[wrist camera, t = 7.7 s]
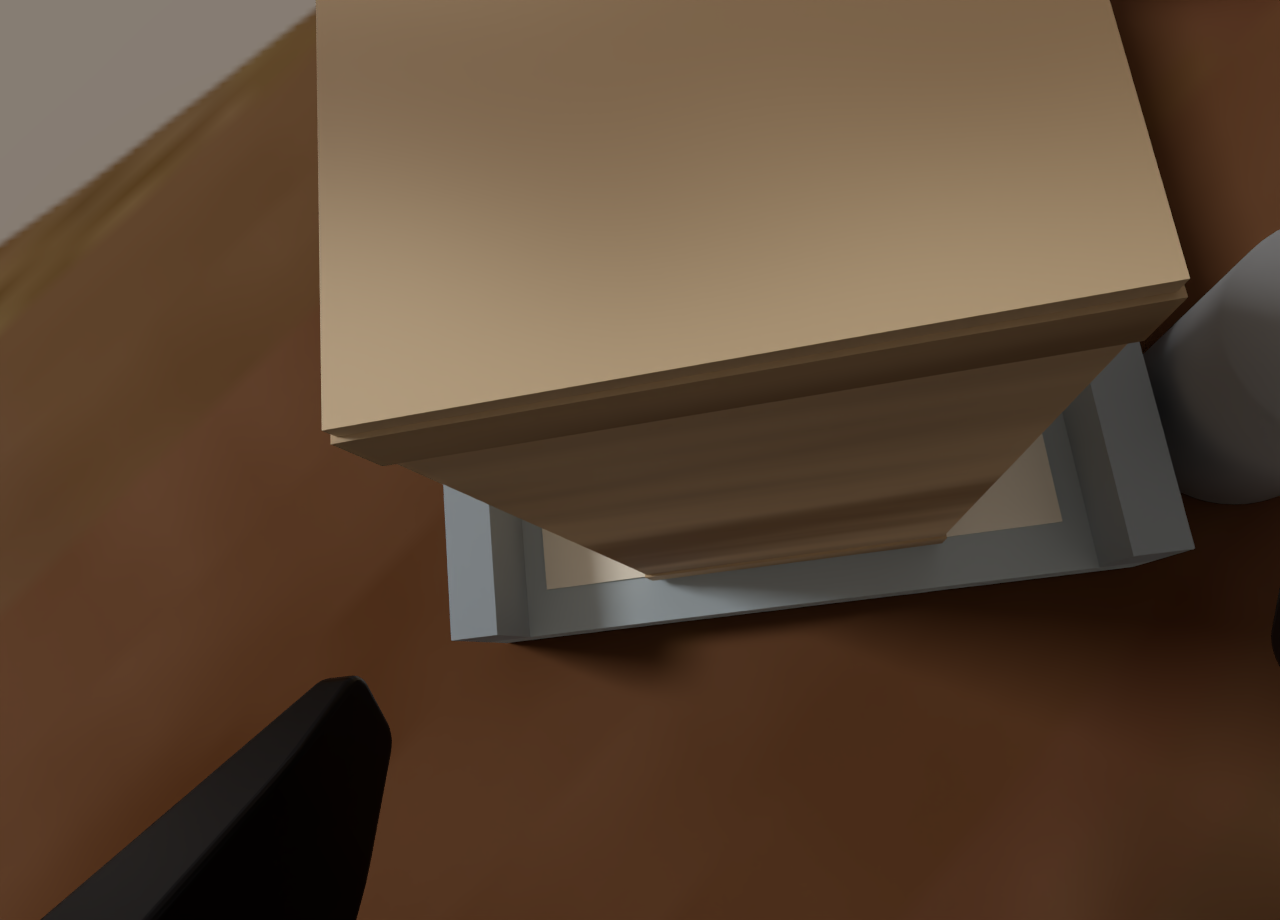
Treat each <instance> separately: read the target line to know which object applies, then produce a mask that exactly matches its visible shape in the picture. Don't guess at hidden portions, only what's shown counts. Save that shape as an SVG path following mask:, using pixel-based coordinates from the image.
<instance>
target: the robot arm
mask: <svg viewBox="0 0 1280 920" xmlns="http://www.w3.org/2000/svg"><path fill="white" fill-rule="evenodd" d="M1271 639H1272V647H1273V651H1274V654H1275V657H1276V660H1277V662H1278V664H1279V666H1280V589H1279V595H1278V600H1277V606H1276V611H1275V616H1274V622H1273V627H1272V635H1271ZM391 747H392V738H391V732H390V728H389V725H388V723H387V721H386V719H385V718H384V716H383V714H382V712H381V710H380V708H379V706H378V704H377V702H376V701H375V699H374V697H373V695H372V693H371V691H370V689H369V687H368V686H367V684H366V682H365V681H364V680H363V679H361V678H360V677H358V676H345V677H336V678H328V679H325V680H322V681H320V682H319V683H317V684H316V685H315V686H314V687H312V688H311V689H310V690H309V691H308V692H307V693H305V694H304V695H303V696H302V697H301V698H300V699H298V700H297V701H296V702H295V703H294V704H293V705H291V706H290V707H289V708H288V709H287V710H285V711H284V712H283V713H282V714H281V715H280V716H278V717H277V718H276V719H275V720H274V721H273V722H271V723H270V724H269V725H268V726H267V727H266V728H264V729H263V730H262V731H261V732H260V733H259V734H257V735H256V736H255V737H254V738H253V739H251V740H250V741H249V742H248V743H247V744H246V745H244V746H243V747H242V748H241V749H240V750H239V751H237V752H236V753H235V754H234V755H233V756H232V757H230V758H229V759H228V760H227V761H226V762H225V763H223V764H222V765H221V766H220V767H219V768H218V769H216V770H215V771H214V772H213V773H212V774H210V775H209V776H208V777H207V778H206V779H205V780H203V781H202V782H201V783H200V784H199V785H198V786H196V787H195V788H194V789H193V790H192V791H191V792H189V793H188V794H187V795H186V796H185V797H184V798H182V799H181V800H180V801H179V802H178V803H177V804H175V805H174V806H173V807H172V808H171V809H169V810H168V811H167V812H166V813H165V814H164V815H162V816H161V817H160V818H159V819H158V820H157V821H155V822H154V823H153V824H152V825H151V826H150V827H148V828H147V829H146V830H145V831H144V832H143V833H141V834H140V835H139V836H138V837H137V838H136V839H134V840H133V841H132V842H131V843H130V844H128V845H127V846H126V847H125V848H124V849H123V850H121V851H120V852H119V853H118V854H117V855H116V856H114V857H113V858H112V859H111V860H110V861H109V862H107V863H106V864H105V865H104V866H103V867H102V868H100V869H99V870H98V871H97V872H96V873H95V874H93V875H92V876H91V877H90V878H89V879H87V880H86V881H85V882H84V883H83V884H82V885H80V886H79V887H78V888H77V889H76V890H75V891H73V892H72V893H71V894H70V895H69V896H68V897H66V898H65V899H64V900H63V901H62V902H61V903H59V904H58V905H57V906H56V907H55V908H53V909H52V910H51V911H50V912H49V913H48V914H46V915H45V916H44V917H43V918H42V919H41V920H356V918H357V915H358V911H359V908H360V904H361V900H362V896H363V893H364V889H365V885H366V880H367V876H368V871H369V867H370V862H371V857H372V851H373V846H374V840H375V835H376V830H377V824H378V819H379V813H380V808H381V803H382V797H383V792H384V787H385V781H386V776H387V770H388V765H389V760H390V754H391Z"/></svg>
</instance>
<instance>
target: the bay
mask: <svg viewBox="0 0 1280 920" xmlns="http://www.w3.org/2000/svg"><path fill="white" fill-rule="evenodd" d="M443 487H444V506H445V526H446V545H447V565H448V584H449V604H450V623H451V641H474V642H499V643H510V642H519V641H527V640H535V639H543V638H552V637H560V636H568V635H576V634H585V633H593V632H601V631H609V630H618V629H626V628H634V627H642V626H650V625H659V624H667V623H675V622H683V621H692V620H700V619H708V618H716V617H725V616H733V615H741V614H749V613H758V612H766V611H774V610H782V609H790V608H799V607H807V606H815V605H823V604H832V603H840V602H848V601H856V600H865V599H873V598H881V597H889V596H897V595H906V594H914V593H922V592H930V591H939V590H947V589H955V588H963V587H972V586H980V585H988V584H996V583H1005V582H1013V581H1021V580H1029V579H1037V578H1046V577H1054V576H1062V575H1070V574H1079V573H1087V572H1095V571H1103V570H1112V569H1120V568H1128V567H1134V566H1138V565H1141V564H1145V563H1148V562H1152V561H1155V560H1158V559H1162V558H1165V557H1169V556H1172V555H1175V554H1179V553H1182V552H1186V551H1189V550H1192V549H1195V546H1194V542H1193V539H1192V535H1191V531H1190V528H1189V524H1188V520H1187V517H1186V513H1185V509H1184V505H1183V502H1182V498H1181V494H1180V492H1181V493H1183V494H1186V495H1188V496H1191V497H1193V498H1196V499H1200V500H1204V501H1207V502H1213V503H1219V504H1235V505H1237V504H1251V503H1256V502H1261V501H1265V500H1268V499H1271V498H1274V497H1277V496H1280V230H1278V231H1276V232H1275V233H1273V234H1272V235H1270V236H1269V237H1267V238H1266V239H1264V240H1263V241H1261V242H1260V243H1259V244H1258V245H1257V246H1256V247H1255V248H1253V249H1252V250H1251V251H1250V252H1249V253H1248V254H1247V255H1246V256H1245V257H1244V258H1243V259H1242V260H1241V261H1240V262H1239V263H1238V264H1237V265H1235V266H1234V267H1233V268H1232V269H1231V270H1230V271H1229V272H1228V273H1227V274H1226V275H1225V276H1224V277H1223V278H1222V279H1221V280H1220V281H1219V282H1218V283H1217V284H1216V285H1215V286H1214V287H1213V288H1212V289H1211V290H1209V291H1208V292H1207V293H1206V294H1205V295H1204V296H1203V297H1202V298H1201V299H1200V300H1199V301H1198V302H1197V303H1196V304H1195V305H1194V306H1193V307H1192V308H1191V309H1190V310H1189V311H1188V312H1187V313H1186V314H1185V315H1183V316H1182V317H1181V318H1180V319H1179V320H1178V321H1177V322H1176V323H1175V324H1174V325H1173V326H1172V327H1171V328H1170V329H1169V330H1168V331H1167V332H1166V333H1165V334H1164V335H1163V336H1162V337H1161V338H1160V339H1159V340H1157V341H1156V342H1155V343H1154V344H1153V345H1152V346H1151V347H1150V348H1149V349H1148V350H1147V351H1146V352H1145V353H1144V354H1143V353H1142V350H1141V346H1140V342H1135V343H1129V344H1127V345H1126V346H1125V347H1124V348H1123V349H1122V350H1121V351H1120V352H1119V353H1118V354H1117V356H1116V357H1115V358H1114V359H1113V360H1112V361H1111V362H1110V363H1109V364H1108V365H1107V366H1106V367H1105V368H1104V369H1103V370H1102V371H1101V372H1100V373H1099V374H1098V375H1097V376H1096V378H1095V379H1094V380H1093V381H1092V382H1091V383H1090V384H1089V385H1088V386H1087V387H1086V388H1085V389H1084V390H1083V391H1082V392H1081V393H1080V394H1079V395H1078V396H1077V397H1076V398H1075V399H1074V401H1073V402H1072V403H1071V404H1070V405H1069V406H1068V407H1067V408H1066V409H1065V410H1064V411H1063V412H1062V413H1061V414H1060V415H1059V416H1058V417H1057V418H1056V419H1055V420H1054V421H1053V422H1052V424H1051V425H1050V426H1049V427H1048V428H1047V429H1046V430H1045V431H1044V432H1043V433H1042V434H1041V435H1040V436H1039V437H1038V438H1037V439H1036V440H1035V441H1034V442H1033V443H1032V444H1031V446H1030V447H1029V448H1028V449H1027V450H1026V451H1025V452H1024V453H1023V454H1022V455H1021V456H1020V457H1019V458H1018V459H1017V460H1016V461H1015V462H1014V463H1013V464H1012V465H1011V466H1010V467H1009V469H1008V470H1007V471H1006V472H1005V473H1004V474H1003V475H1002V476H1001V477H1000V478H999V479H998V480H997V481H996V482H995V483H994V484H993V485H992V486H991V487H990V488H989V489H988V491H987V492H986V493H985V494H984V495H983V496H982V497H981V498H980V499H979V500H978V501H977V502H976V503H975V504H974V505H973V506H972V507H971V508H970V509H969V510H968V511H967V512H966V514H965V515H964V516H963V517H962V518H961V519H960V520H959V521H958V522H957V523H956V524H955V525H954V526H953V527H952V528H951V529H950V530H949V531H948V532H947V533H946V535H947V539H946V540H945V541H944V542H943V543H941V544H933V545H925V546H918V547H910V548H902V549H895V550H887V551H879V552H871V553H864V554H856V555H848V556H840V557H833V558H825V559H817V560H810V561H802V562H794V563H786V564H779V565H771V566H763V567H756V568H748V569H740V570H732V571H725V572H717V573H709V574H701V575H694V576H686V577H678V578H671V579H663V580H655V581H652V580H650V579H647V578H645V574H644V573H642V572H639V571H637V570H635V569H633V568H630V567H628V566H626V565H624V564H621V563H619V562H617V561H615V560H612V559H610V558H608V557H606V556H603V555H601V554H599V553H597V552H594V551H592V550H590V549H588V548H585V547H583V546H581V545H579V544H576V543H574V542H572V541H570V540H567V539H565V538H563V537H561V536H558V535H556V534H554V533H552V532H549V531H547V530H545V529H543V528H540V527H538V526H536V525H534V524H531V523H529V522H527V521H525V520H522V519H520V518H518V517H516V516H513V515H511V514H509V513H507V512H504V511H502V510H500V509H498V508H495V507H493V506H491V505H489V504H486V503H484V502H482V501H480V500H477V499H475V498H473V497H471V496H468V495H466V494H464V493H462V492H459V491H457V490H455V489H453V488H450V487H448V486H446V485H444V484H443Z"/></svg>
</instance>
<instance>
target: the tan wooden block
mask: <svg viewBox="0 0 1280 920" xmlns="http://www.w3.org/2000/svg"><path fill="white" fill-rule="evenodd" d="M316 43H317V115H318V187H319V259H320V331H321V403H322V431H324V432H326V433H329V434H331V444H332V445H334V446H336V447H339V448H341V449H343V450H346V451H348V452H350V453H353V454H355V455H357V456H360V457H362V458H365V459H367V460H369V461H372V462H374V463H376V464H379V465H381V466H386V465H392V464H399V465H401V466H403V467H405V468H408V469H410V470H412V471H414V472H417V473H419V474H421V475H423V476H426V477H428V478H430V479H432V480H435V481H437V482H439V483H441V484H444V485H446V486H448V487H450V488H453V489H455V490H457V491H459V492H462V493H464V494H466V495H468V496H471V497H473V498H475V499H477V500H480V501H482V502H484V503H486V504H489V505H491V506H493V507H495V508H498V509H500V510H502V511H504V512H507V513H509V514H511V515H513V516H516V517H518V518H520V519H522V520H525V521H527V522H529V523H531V524H534V525H536V526H538V527H540V528H543V529H545V530H547V531H549V532H552V533H554V534H556V535H558V536H561V537H563V538H565V539H567V540H570V541H572V542H574V543H576V544H579V545H581V546H583V547H585V548H588V549H590V550H592V551H594V552H597V553H599V554H601V555H603V556H606V557H608V558H610V559H612V560H615V561H617V562H619V563H621V564H624V565H626V566H628V567H630V568H633V569H635V570H637V571H639V572H642V573H644V574H645V578H647V579H650V580H652V581H655V580H663V579H671V578H678V577H686V576H694V575H701V574H709V573H717V572H725V571H732V570H740V569H748V568H756V567H763V566H771V565H779V564H786V563H794V562H802V561H810V560H817V559H825V558H833V557H840V556H848V555H856V554H864V553H871V552H879V551H887V550H895V549H902V548H910V547H918V546H925V545H933V544H941V543H943V542H944V541H945V540H946V539H947V535H946V533H947V532H948V531H949V530H950V529H951V528H952V527H953V526H954V525H955V524H956V523H957V522H958V521H959V520H960V519H961V518H962V517H963V516H964V515H965V514H966V512H967V511H968V510H969V509H970V508H971V507H972V506H973V505H974V504H975V503H976V502H977V501H978V500H979V499H980V498H981V497H982V496H983V495H984V494H985V493H986V492H987V491H988V489H989V488H990V487H991V486H992V485H993V484H994V483H995V482H996V481H997V480H998V479H999V478H1000V477H1001V476H1002V475H1003V474H1004V473H1005V472H1006V471H1007V470H1008V469H1009V467H1010V466H1011V465H1012V464H1013V463H1014V462H1015V461H1016V460H1017V459H1018V458H1019V457H1020V456H1021V455H1022V454H1023V453H1024V452H1025V451H1026V450H1027V449H1028V448H1029V447H1030V446H1031V444H1032V443H1033V442H1034V441H1035V440H1036V439H1037V438H1038V437H1039V436H1040V435H1041V434H1042V433H1043V432H1044V431H1045V430H1046V429H1047V428H1048V427H1049V426H1050V425H1051V424H1052V422H1053V421H1054V420H1055V419H1056V418H1057V417H1058V416H1059V415H1060V414H1061V413H1062V412H1063V411H1064V410H1065V409H1066V408H1067V407H1068V406H1069V405H1070V404H1071V403H1072V402H1073V401H1074V399H1075V398H1076V397H1077V396H1078V395H1079V394H1080V393H1081V392H1082V391H1083V390H1084V389H1085V388H1086V387H1087V386H1088V385H1089V384H1090V383H1091V382H1092V381H1093V380H1094V379H1095V378H1096V376H1097V375H1098V374H1099V373H1100V372H1101V371H1102V370H1103V369H1104V368H1105V367H1106V366H1107V365H1108V364H1109V363H1110V362H1111V361H1112V360H1113V359H1114V358H1115V357H1116V356H1117V354H1118V353H1119V352H1120V351H1121V350H1122V349H1123V348H1124V347H1125V346H1126V345H1127V344H1129V343H1135V342H1141V341H1145V340H1146V339H1147V338H1148V337H1149V336H1150V335H1151V334H1152V333H1153V332H1154V331H1155V330H1156V329H1157V328H1158V327H1159V326H1160V325H1161V324H1162V323H1163V322H1164V321H1165V320H1166V319H1167V318H1168V317H1169V316H1170V315H1171V314H1172V313H1173V312H1174V311H1175V310H1176V309H1177V308H1178V307H1179V306H1180V305H1181V304H1182V303H1183V302H1184V301H1185V300H1186V299H1187V298H1188V295H1187V292H1186V288H1185V285H1184V284H1185V283H1186V282H1187V281H1188V280H1189V279H1190V276H1189V273H1188V269H1187V266H1186V262H1185V259H1184V256H1183V252H1182V249H1181V245H1180V242H1179V238H1178V235H1177V231H1176V228H1175V224H1174V221H1173V217H1172V214H1171V211H1170V207H1169V204H1168V200H1167V197H1166V193H1165V190H1164V186H1163V183H1162V179H1161V176H1160V172H1159V169H1158V166H1157V162H1156V159H1155V155H1154V152H1153V148H1152V145H1151V141H1150V138H1149V134H1148V131H1147V128H1146V124H1145V121H1144V117H1143V114H1142V110H1141V107H1140V103H1139V100H1138V96H1137V93H1136V89H1135V86H1134V83H1133V79H1132V76H1131V72H1130V69H1129V65H1128V62H1127V58H1126V55H1125V51H1124V48H1123V44H1122V41H1121V38H1120V34H1119V31H1118V27H1117V24H1116V20H1115V17H1114V13H1113V10H1112V6H1111V3H1110V0H316Z"/></svg>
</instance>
